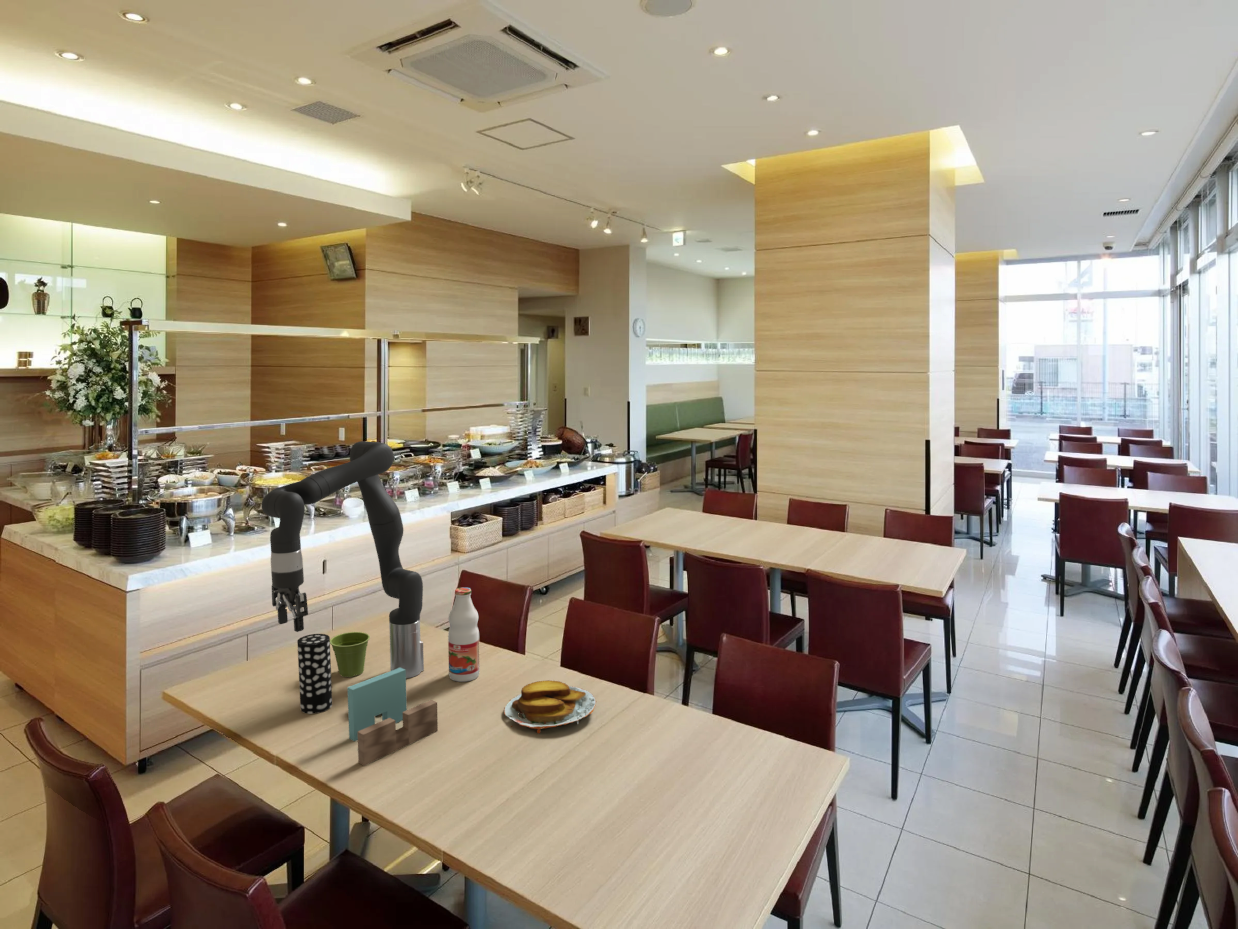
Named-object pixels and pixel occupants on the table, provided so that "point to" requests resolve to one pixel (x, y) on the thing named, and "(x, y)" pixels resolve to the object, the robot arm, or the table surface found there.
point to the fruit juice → (463, 638)
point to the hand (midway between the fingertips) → (290, 627)
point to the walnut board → (396, 732)
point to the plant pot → (350, 652)
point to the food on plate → (550, 704)
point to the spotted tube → (314, 673)
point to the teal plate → (376, 700)
